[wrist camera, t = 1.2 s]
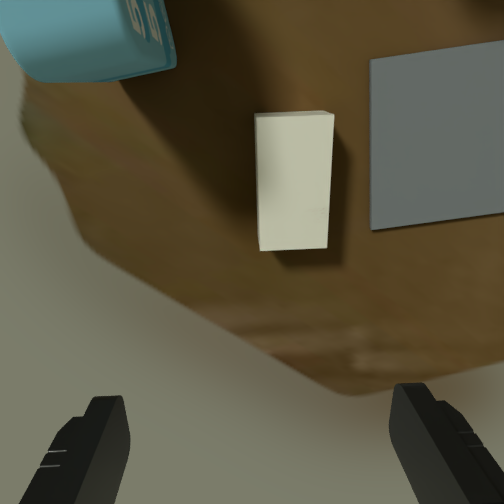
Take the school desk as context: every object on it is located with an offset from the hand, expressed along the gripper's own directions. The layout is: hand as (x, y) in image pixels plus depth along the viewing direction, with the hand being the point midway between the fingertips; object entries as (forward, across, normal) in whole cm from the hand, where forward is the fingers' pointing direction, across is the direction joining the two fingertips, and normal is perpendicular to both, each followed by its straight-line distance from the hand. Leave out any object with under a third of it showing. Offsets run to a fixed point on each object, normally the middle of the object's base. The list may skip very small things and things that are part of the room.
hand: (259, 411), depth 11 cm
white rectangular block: (+20, -3, -3) cm, 20 cm away
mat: (+19, -16, -6) cm, 26 cm away
